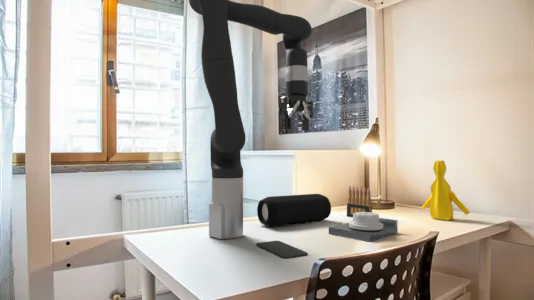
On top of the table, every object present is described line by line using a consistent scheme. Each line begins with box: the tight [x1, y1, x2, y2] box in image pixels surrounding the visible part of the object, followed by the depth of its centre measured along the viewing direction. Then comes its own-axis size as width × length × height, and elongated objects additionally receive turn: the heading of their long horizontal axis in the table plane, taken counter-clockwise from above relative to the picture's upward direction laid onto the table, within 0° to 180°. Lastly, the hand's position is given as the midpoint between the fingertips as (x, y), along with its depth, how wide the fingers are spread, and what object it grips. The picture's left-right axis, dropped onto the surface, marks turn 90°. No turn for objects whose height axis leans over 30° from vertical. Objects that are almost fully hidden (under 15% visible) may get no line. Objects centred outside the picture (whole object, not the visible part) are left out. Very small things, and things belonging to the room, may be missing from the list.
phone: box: [255, 240, 309, 260], centre depth 93 cm, size 7×1×15 cm
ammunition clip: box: [346, 185, 373, 218], centre depth 140 cm, size 11×2×12 cm, turn 38°
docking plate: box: [328, 217, 399, 243], centre depth 113 cm, size 16×14×4 cm
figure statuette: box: [421, 160, 471, 221], centre depth 137 cm, size 18×8×22 cm, turn 40°
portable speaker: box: [256, 193, 332, 228], centre depth 129 cm, size 26×10×10 cm, turn 119°
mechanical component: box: [348, 212, 383, 230], centre depth 111 cm, size 10×4×10 cm
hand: (296, 130), depth 122 cm, fingers open, 8 cm apart
